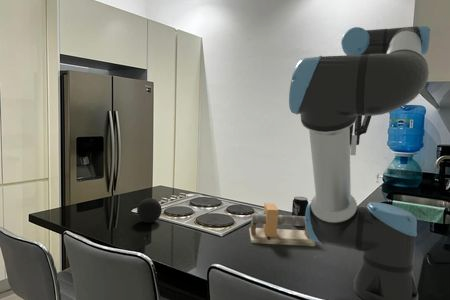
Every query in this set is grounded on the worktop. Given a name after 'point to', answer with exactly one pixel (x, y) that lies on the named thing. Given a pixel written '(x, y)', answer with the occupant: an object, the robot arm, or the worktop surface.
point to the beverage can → (299, 207)
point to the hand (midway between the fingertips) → (351, 154)
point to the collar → (270, 220)
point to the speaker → (149, 210)
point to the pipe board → (280, 231)
